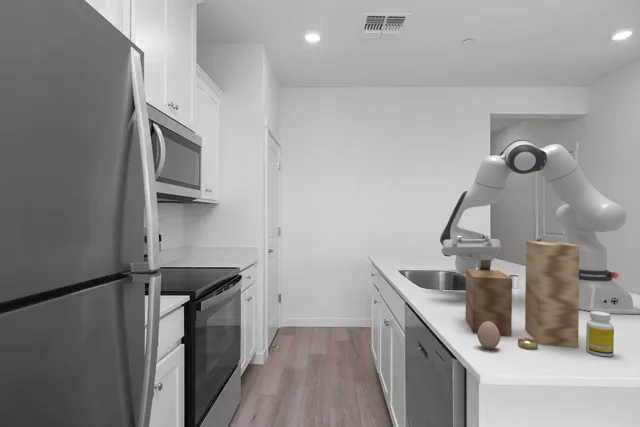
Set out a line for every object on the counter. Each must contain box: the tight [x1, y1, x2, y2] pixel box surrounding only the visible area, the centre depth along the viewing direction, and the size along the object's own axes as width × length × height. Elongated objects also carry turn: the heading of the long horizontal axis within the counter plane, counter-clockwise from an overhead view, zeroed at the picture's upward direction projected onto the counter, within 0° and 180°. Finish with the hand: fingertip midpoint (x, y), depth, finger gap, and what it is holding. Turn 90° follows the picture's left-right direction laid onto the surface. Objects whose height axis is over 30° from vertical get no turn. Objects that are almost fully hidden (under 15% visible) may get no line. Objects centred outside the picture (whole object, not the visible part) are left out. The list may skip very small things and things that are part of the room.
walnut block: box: [465, 269, 513, 337], centre depth 114 cm, size 10×16×16 cm, turn 166°
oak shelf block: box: [524, 240, 580, 348], centre depth 104 cm, size 9×13×26 cm
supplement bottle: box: [585, 311, 615, 357], centre depth 93 cm, size 5×5×10 cm
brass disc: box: [517, 337, 539, 351], centre depth 97 cm, size 4×4×2 cm
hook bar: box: [477, 255, 492, 270], centre depth 126 cm, size 21×8×3 cm
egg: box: [477, 321, 501, 350], centre depth 96 cm, size 5×5×7 cm
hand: (473, 237), depth 137 cm, fingers open, 8 cm apart
